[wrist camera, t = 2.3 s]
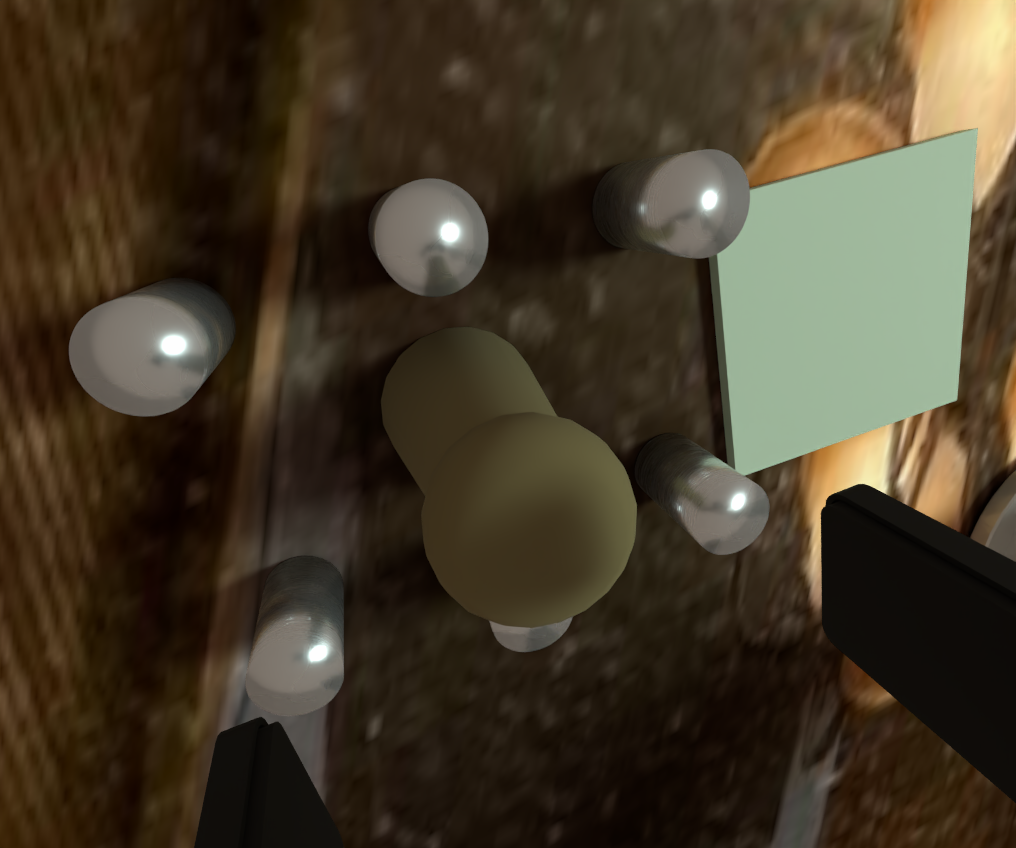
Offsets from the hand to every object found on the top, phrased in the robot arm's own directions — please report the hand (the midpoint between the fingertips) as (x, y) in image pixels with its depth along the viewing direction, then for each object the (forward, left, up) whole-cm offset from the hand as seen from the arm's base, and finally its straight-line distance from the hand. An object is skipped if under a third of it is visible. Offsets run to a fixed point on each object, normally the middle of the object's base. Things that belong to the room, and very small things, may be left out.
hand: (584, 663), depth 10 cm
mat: (-18, +1, -14) cm, 23 cm away
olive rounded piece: (-1, 0, -15) cm, 15 cm away
